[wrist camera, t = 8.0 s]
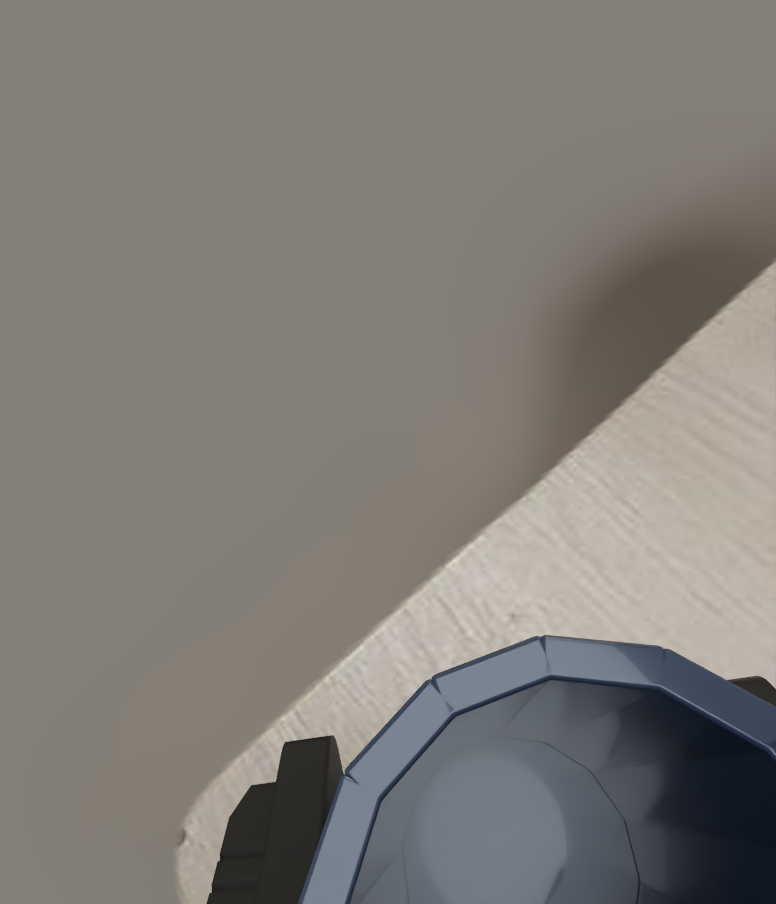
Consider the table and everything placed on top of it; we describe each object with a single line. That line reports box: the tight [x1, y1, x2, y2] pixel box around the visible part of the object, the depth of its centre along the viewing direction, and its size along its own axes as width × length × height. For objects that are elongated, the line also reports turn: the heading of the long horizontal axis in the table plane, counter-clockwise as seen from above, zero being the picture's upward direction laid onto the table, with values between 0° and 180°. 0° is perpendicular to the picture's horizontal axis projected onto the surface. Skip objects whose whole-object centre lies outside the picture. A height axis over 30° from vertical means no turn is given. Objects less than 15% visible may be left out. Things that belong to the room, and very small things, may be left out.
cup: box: [298, 635, 776, 904], centre depth 9 cm, size 6×6×9 cm
